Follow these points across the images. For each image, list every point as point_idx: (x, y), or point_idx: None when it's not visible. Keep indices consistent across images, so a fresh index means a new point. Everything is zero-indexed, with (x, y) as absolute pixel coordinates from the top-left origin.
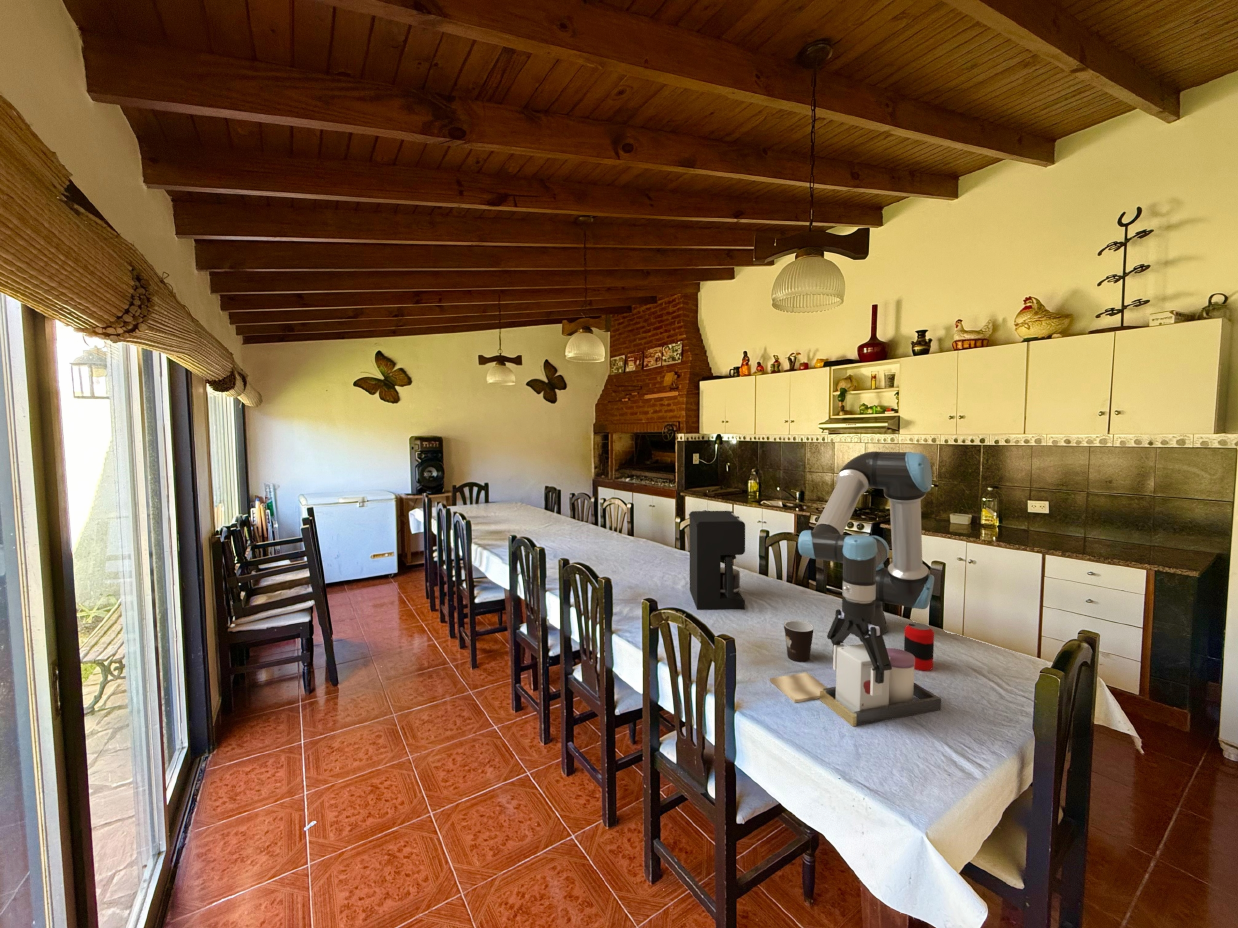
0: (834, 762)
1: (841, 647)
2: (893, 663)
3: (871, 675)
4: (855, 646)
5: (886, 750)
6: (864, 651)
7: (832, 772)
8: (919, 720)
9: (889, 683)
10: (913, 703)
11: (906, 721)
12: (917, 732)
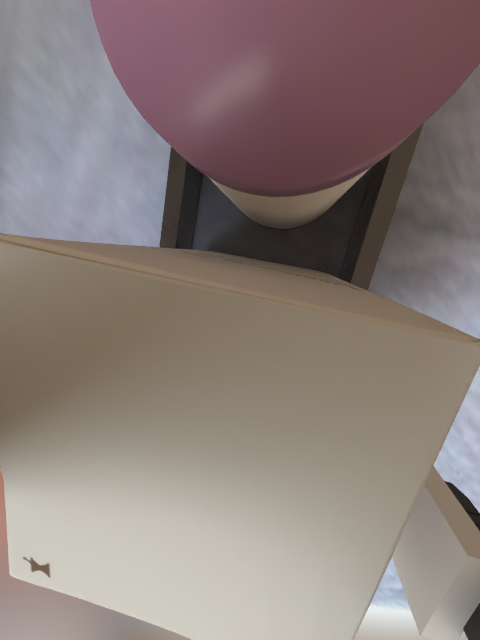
0: (383, 578)
1: (19, 554)
2: (361, 166)
3: (399, 558)
4: (36, 434)
5: (441, 452)
6: (179, 480)
7: (403, 607)
8: (420, 201)
9: (306, 212)
10: (405, 173)
11: (392, 254)
12: (457, 286)
